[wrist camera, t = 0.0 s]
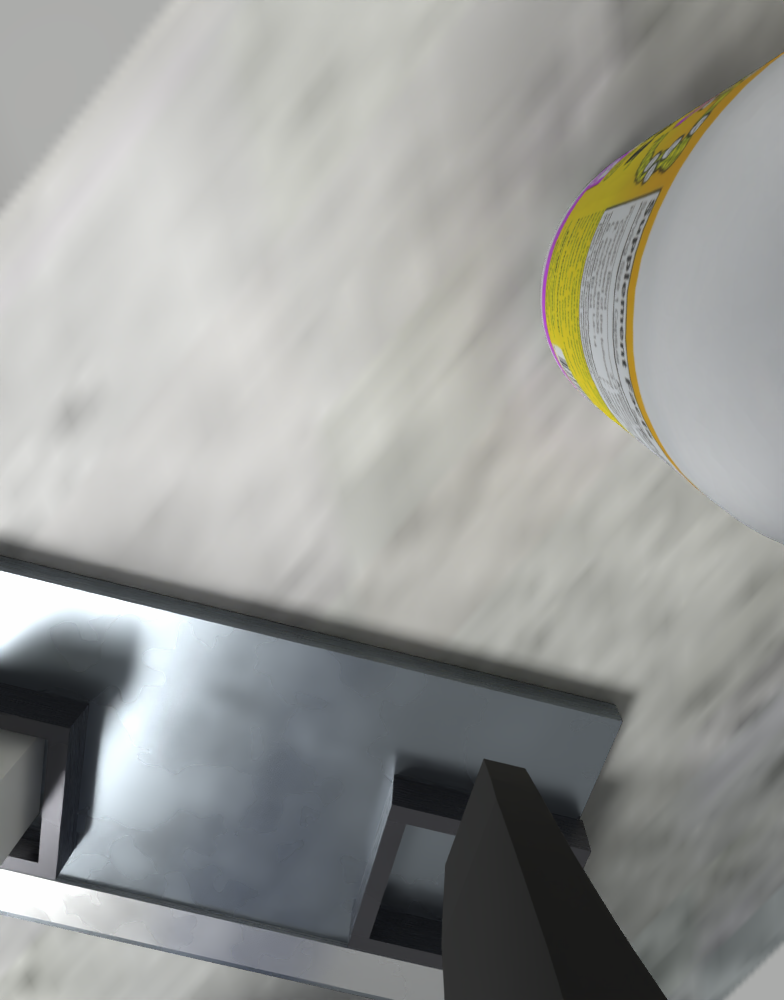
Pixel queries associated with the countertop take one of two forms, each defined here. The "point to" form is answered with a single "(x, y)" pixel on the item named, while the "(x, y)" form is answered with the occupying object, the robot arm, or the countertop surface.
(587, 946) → the robot arm
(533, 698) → the panel
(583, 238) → the supplement bottle
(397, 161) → the countertop surface
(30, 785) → the white rectangular block
